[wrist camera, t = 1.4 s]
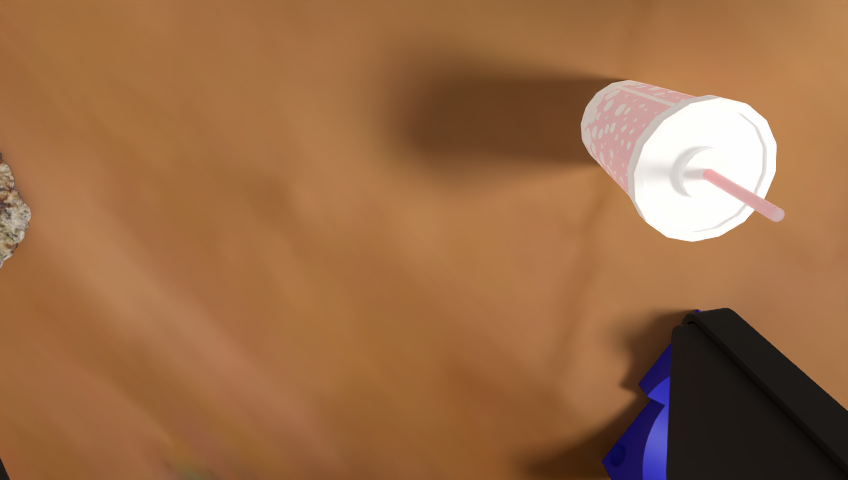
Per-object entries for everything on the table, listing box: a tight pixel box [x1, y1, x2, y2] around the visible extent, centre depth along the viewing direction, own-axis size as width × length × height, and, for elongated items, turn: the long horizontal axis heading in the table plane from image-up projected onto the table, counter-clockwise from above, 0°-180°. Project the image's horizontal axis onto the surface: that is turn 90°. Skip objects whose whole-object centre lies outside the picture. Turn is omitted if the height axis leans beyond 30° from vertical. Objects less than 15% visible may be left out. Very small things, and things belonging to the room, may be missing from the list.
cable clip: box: [602, 309, 702, 480], centre depth 41 cm, size 12×4×6 cm, turn 149°
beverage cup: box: [581, 80, 784, 242], centre depth 30 cm, size 6×6×14 cm
